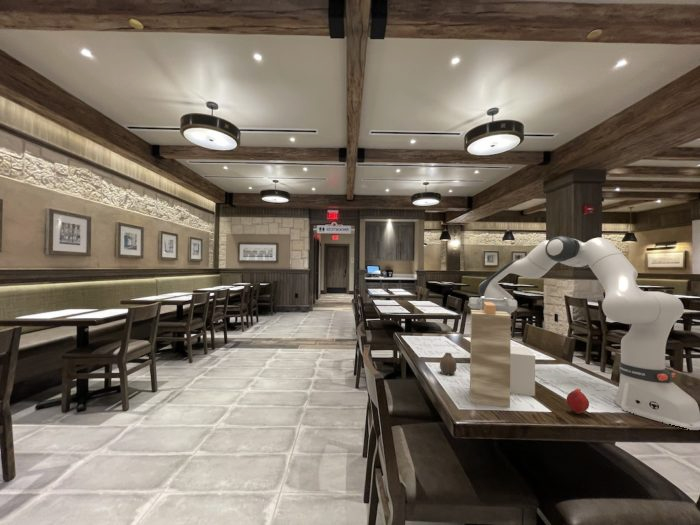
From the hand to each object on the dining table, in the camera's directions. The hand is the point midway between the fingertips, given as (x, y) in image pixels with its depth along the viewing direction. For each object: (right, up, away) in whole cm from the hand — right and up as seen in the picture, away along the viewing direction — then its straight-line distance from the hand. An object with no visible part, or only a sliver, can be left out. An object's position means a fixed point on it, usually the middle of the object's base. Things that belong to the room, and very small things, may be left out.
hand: (494, 298), depth 142 cm
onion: (+9, -32, -40) cm, 52 cm away
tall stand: (-15, -32, -29) cm, 45 cm away
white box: (0, -32, -18) cm, 37 cm away
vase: (-21, -32, -2) cm, 39 cm away
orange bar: (-13, -2, -24) cm, 27 cm away
